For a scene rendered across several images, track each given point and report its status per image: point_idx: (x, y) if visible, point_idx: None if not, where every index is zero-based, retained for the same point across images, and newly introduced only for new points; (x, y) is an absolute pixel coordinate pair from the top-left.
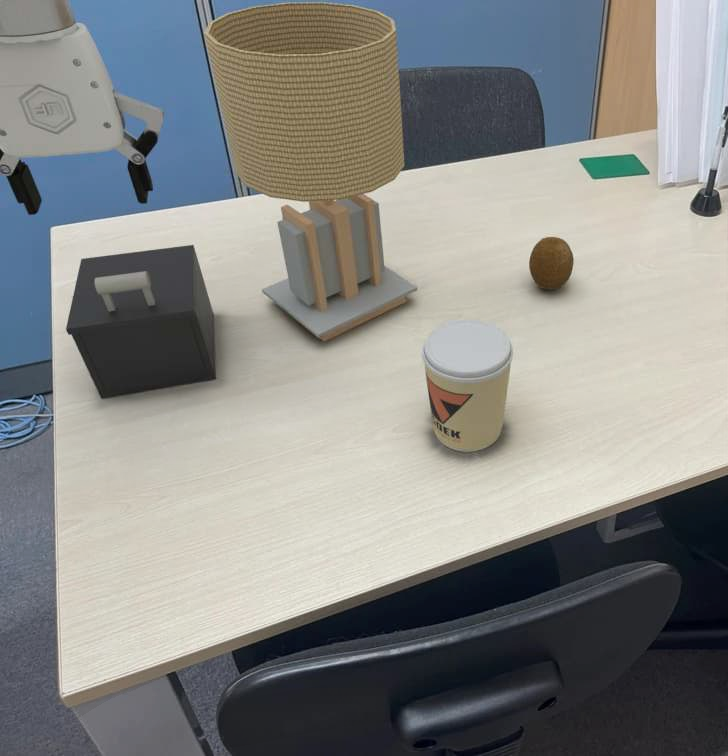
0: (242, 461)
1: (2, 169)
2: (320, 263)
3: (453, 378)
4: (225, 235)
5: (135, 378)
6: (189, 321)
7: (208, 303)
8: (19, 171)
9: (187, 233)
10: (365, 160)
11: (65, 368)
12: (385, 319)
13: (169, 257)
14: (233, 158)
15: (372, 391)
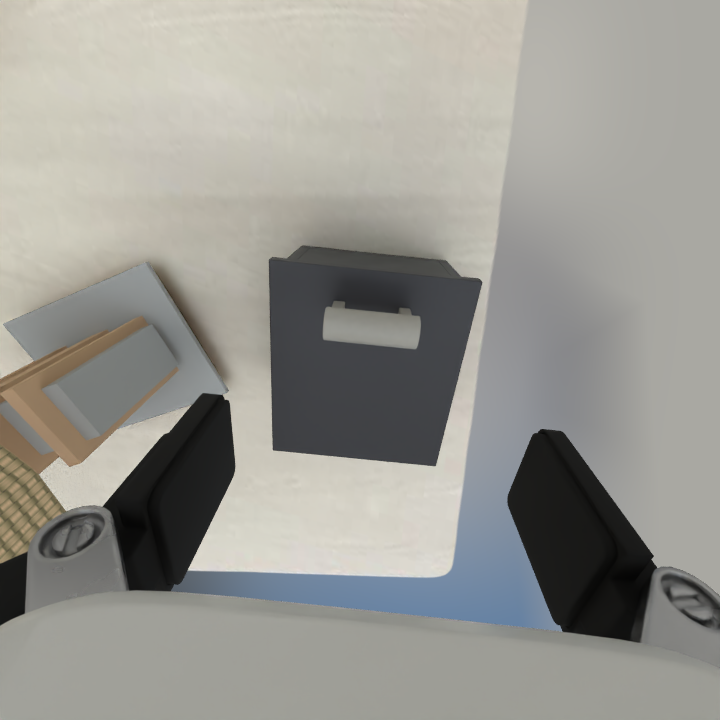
0: (272, 23)
1: (700, 603)
2: (75, 351)
3: None
4: (279, 518)
5: (399, 260)
6: None
7: None
8: (612, 582)
9: (321, 533)
10: None
11: (478, 339)
12: (70, 292)
13: (308, 428)
14: None
15: (77, 124)
